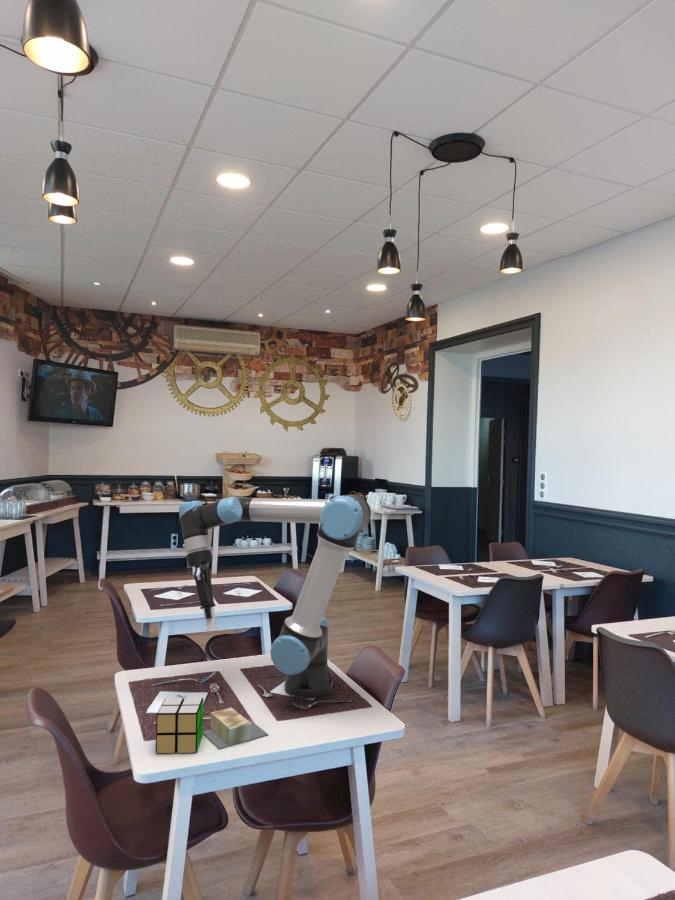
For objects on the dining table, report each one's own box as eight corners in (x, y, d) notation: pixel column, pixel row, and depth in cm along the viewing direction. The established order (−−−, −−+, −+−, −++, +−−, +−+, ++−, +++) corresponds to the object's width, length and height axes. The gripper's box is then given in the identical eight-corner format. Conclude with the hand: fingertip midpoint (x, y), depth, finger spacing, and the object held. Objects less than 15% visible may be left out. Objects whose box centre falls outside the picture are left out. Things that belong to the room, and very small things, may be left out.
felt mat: (249, 720, 168) (249, 719, 168) (268, 735, 159) (268, 734, 159) (201, 732, 160) (201, 731, 160) (218, 749, 151) (218, 748, 151)
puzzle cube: (164, 735, 158) (164, 697, 159) (202, 735, 159) (203, 697, 159) (155, 754, 148) (156, 713, 149) (196, 753, 149) (197, 713, 149)
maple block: (231, 707, 166) (251, 723, 157) (230, 722, 166) (251, 739, 157) (210, 712, 163) (230, 729, 153) (210, 727, 163) (229, 745, 153)
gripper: (191, 556, 192) (204, 632, 186) (180, 552, 179) (194, 633, 174) (214, 550, 192) (228, 626, 187) (205, 546, 180) (220, 627, 174)
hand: (212, 629), depth 180 cm, fingers closed
